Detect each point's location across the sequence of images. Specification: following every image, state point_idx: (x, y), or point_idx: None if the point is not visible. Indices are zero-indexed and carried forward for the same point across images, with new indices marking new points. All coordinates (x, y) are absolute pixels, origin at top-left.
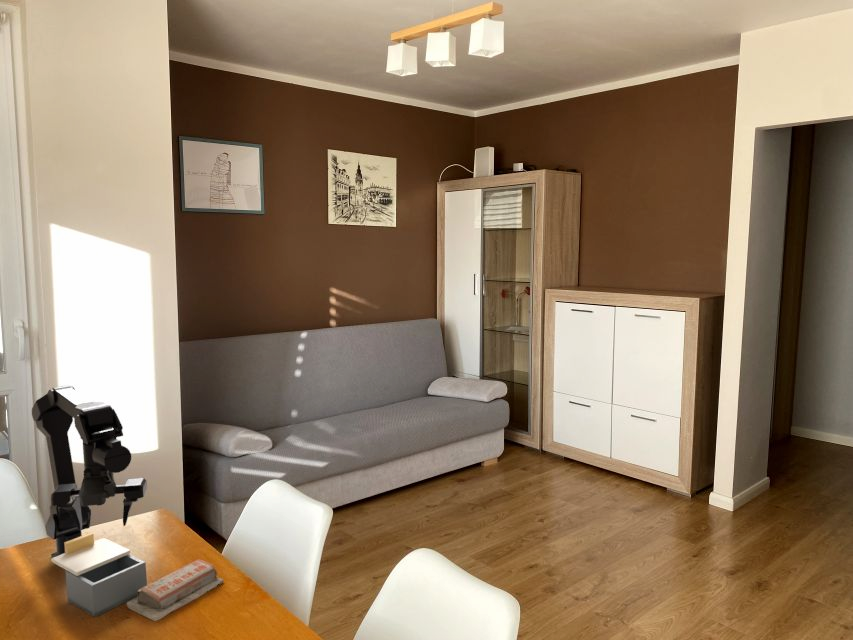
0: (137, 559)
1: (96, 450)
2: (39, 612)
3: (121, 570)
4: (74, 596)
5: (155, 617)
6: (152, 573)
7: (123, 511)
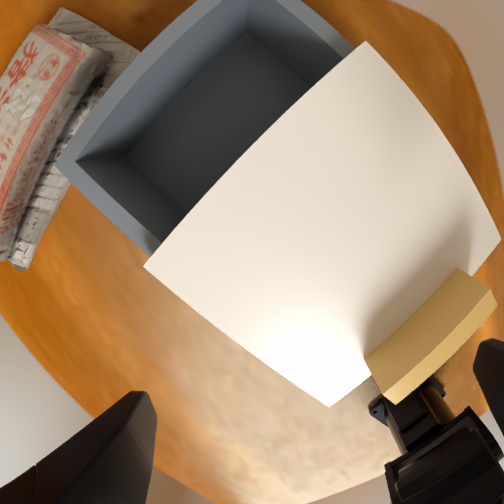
0: (96, 197)
1: None
2: (425, 97)
3: None
4: None
5: (63, 11)
6: (139, 283)
7: (60, 497)
